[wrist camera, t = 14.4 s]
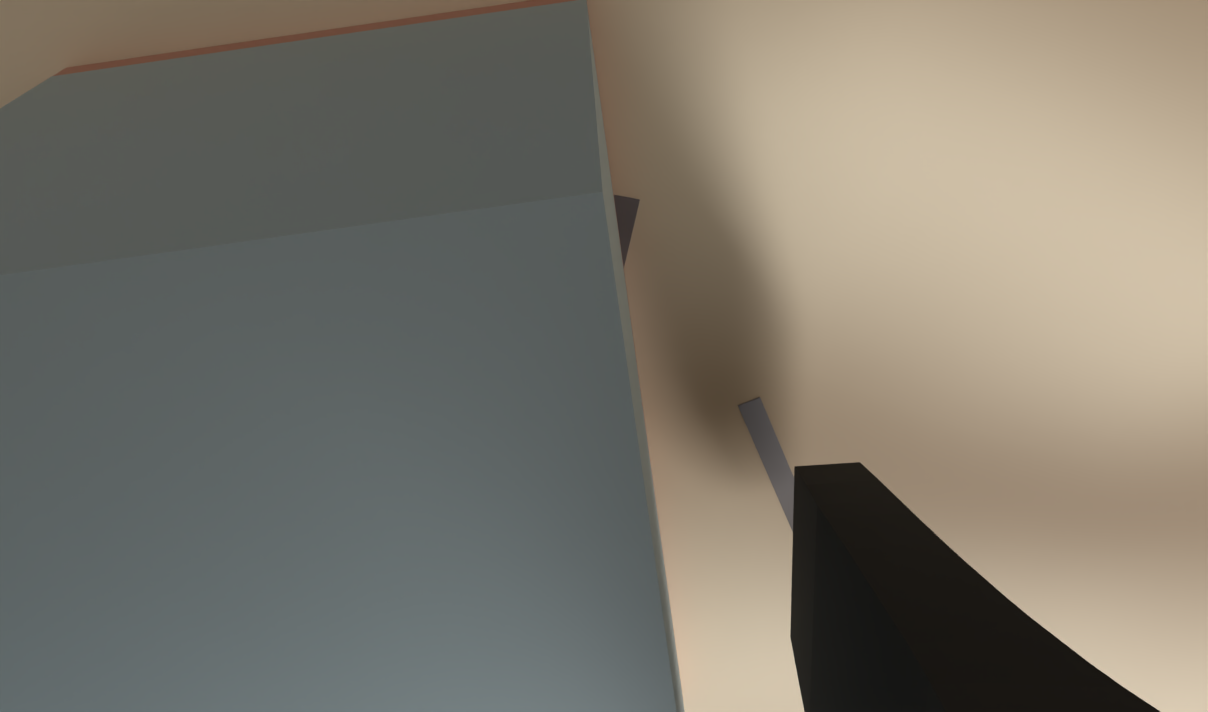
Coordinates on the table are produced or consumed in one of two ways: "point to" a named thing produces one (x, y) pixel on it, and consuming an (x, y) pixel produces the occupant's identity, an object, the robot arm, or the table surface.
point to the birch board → (879, 290)
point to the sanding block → (326, 382)
